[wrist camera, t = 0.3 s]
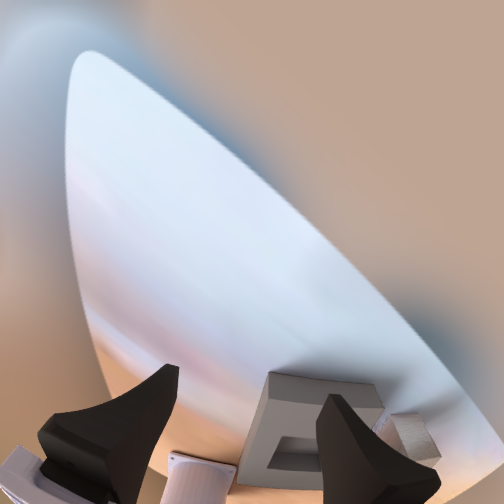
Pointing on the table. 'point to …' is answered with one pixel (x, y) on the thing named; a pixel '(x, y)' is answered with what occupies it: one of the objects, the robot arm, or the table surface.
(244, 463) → the bore block
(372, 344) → the table surface
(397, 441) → the square bit
